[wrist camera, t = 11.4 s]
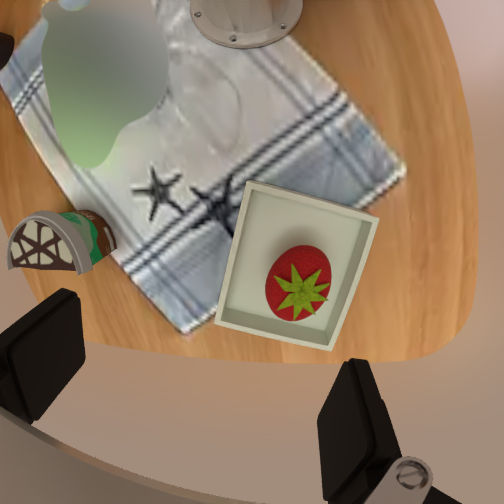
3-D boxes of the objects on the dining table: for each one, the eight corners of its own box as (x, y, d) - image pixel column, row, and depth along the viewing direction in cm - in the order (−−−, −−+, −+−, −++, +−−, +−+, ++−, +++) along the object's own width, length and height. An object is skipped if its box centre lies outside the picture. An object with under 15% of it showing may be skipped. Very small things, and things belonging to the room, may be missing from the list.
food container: (123, 197, 34) (73, 210, 25) (127, 248, 36) (82, 275, 26) (48, 203, 35) (-3, 216, 26) (53, 247, 37) (5, 269, 27)
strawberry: (256, 284, 35) (250, 332, 25) (282, 222, 32) (287, 250, 23) (304, 302, 35) (314, 353, 26) (333, 243, 33) (356, 278, 23)
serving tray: (250, 179, 32) (246, 181, 29) (368, 212, 32) (379, 218, 28) (220, 307, 37) (213, 323, 33) (326, 333, 36) (331, 351, 33)
